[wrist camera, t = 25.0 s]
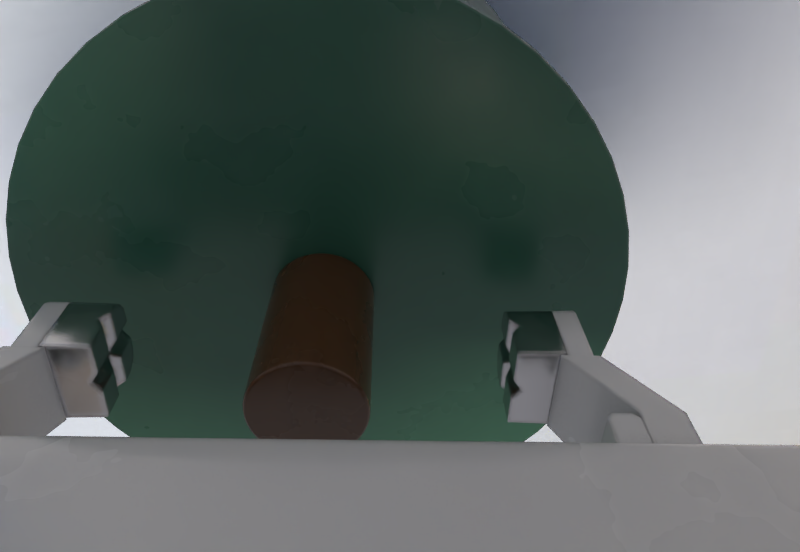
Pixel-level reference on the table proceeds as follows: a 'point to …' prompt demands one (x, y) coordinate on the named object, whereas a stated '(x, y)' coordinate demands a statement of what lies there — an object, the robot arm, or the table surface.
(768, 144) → the table surface
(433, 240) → the lid
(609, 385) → the robot arm
